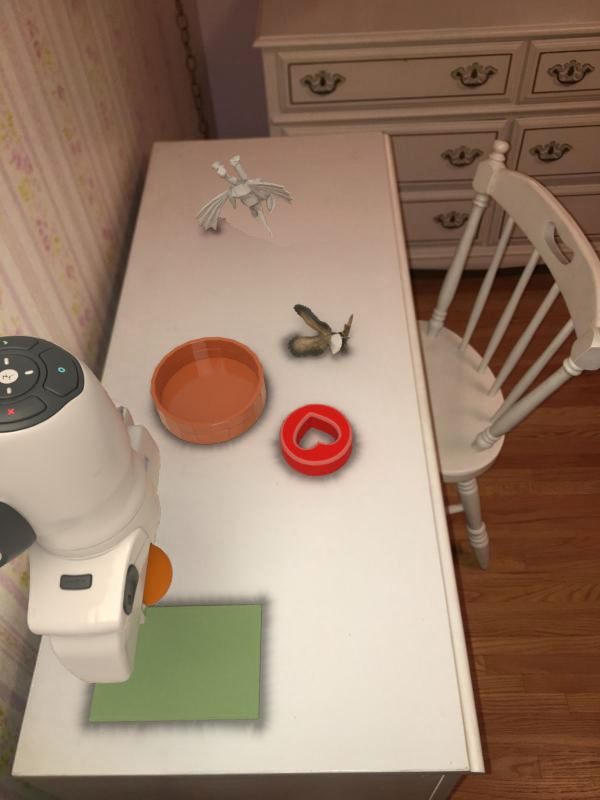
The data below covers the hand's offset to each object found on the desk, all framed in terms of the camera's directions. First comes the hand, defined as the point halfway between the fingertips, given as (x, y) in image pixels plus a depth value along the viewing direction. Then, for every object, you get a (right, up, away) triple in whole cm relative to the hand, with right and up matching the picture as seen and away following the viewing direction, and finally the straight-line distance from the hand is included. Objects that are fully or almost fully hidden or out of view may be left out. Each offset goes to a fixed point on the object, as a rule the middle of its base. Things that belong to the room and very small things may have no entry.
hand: (142, 578), depth 58 cm
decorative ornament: (+17, +10, +29) cm, 35 cm away
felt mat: (+1, -13, +13) cm, 18 cm away
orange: (0, -1, +2) cm, 2 cm away
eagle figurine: (+17, +24, +40) cm, 50 cm away
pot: (+2, +16, +34) cm, 38 cm away
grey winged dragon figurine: (+5, +48, +57) cm, 75 cm away
